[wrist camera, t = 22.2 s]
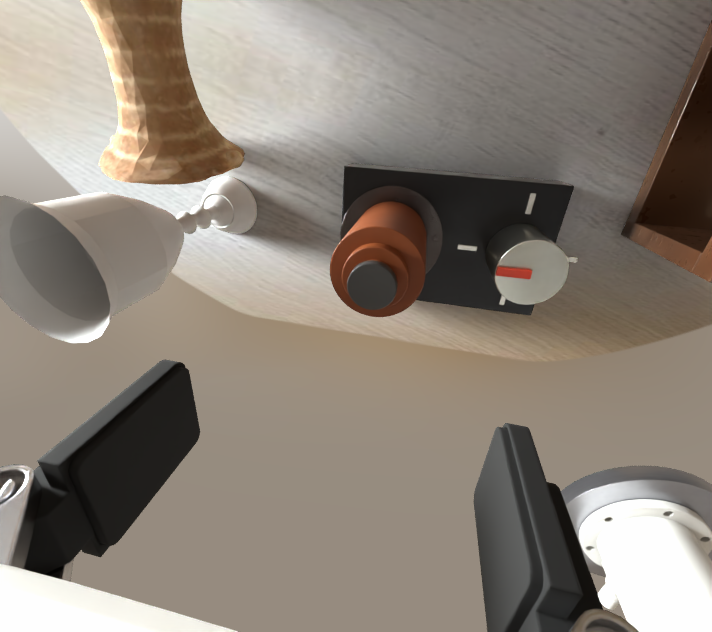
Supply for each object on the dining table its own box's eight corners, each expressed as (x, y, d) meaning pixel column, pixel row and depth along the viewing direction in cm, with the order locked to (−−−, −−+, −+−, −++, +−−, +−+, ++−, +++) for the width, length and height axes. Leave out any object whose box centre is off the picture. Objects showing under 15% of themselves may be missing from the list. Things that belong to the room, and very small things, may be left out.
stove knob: (556, 226, 25) (581, 245, 21) (538, 283, 27) (558, 310, 23) (492, 220, 26) (504, 237, 22) (479, 277, 28) (488, 302, 24)
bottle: (420, 276, 28) (416, 340, 20) (352, 268, 29) (319, 325, 20) (432, 205, 26) (433, 242, 17) (357, 197, 27) (321, 229, 18)
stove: (543, 303, 31) (555, 320, 28) (345, 277, 33) (338, 290, 31) (586, 182, 26) (604, 188, 24) (351, 162, 29) (343, 166, 26)
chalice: (182, 176, 32) (-61, 219, 16) (245, 152, 30) (39, 174, 14) (218, 252, 35) (42, 352, 19) (278, 235, 33) (138, 331, 17)
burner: (433, 291, 29) (433, 293, 29) (339, 279, 30) (338, 280, 30) (451, 190, 25) (452, 190, 25) (343, 180, 26) (342, 180, 26)
